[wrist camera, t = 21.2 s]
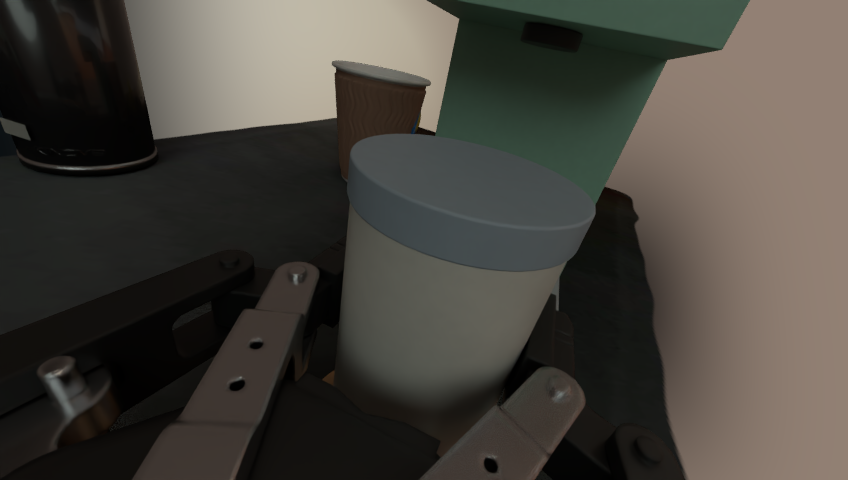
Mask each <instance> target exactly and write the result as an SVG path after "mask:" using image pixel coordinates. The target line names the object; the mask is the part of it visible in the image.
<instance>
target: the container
mask: <svg viewBox="0 0 848 480" xmlns="http://www.w3.org/2000/svg"><path fill="white" fill-rule="evenodd" d="M347 195H348V198H349V200H350V207H349V218H348V229H347V240H346V251H345V262H344V273H343V284H342V295H341V306H340V317H339V328H338V339H337V350H336V361H335V372H334V383H333V386H335V387H337V388H338V389H339V390H340V391H341V392H342V393H343V394H344V395H345V396H346V397H347V398H348V399H350V400H351V401H352V402H353V403H354V404H355V405H356V406H357V407H358V408H359V409H360V410H361V411H363V412H364V413H366V414H370V415H374V416H379V417H383V418H387V419H392V420H396V421H401V422H405V423H407V424H409V425H411V426H413V427H415V428H417V429H419V430H420V431H422V432H424V433H426V434H428V435H430V436H432V437H434V438H436V439H438V440H440V441H441V442H440V445H439V447H438V450H437V454H438V455H439V456H440V457H442V456H443V455H444V454H445V453H446V452H447V451H448V450H449V449H450V448H451V447H452V446H453V445H454V444H455V443H456V442H457V441H458V440H459V439H461V438H462V437H463V436H464V435H465V434H466V433H467V432H468V431H469V430H470V429H471V428H472V427H473V426H474V425H475V424H476V423H477V422H478V421H479V420H480V419H481V418H482V417H483V416H484V415H485V414H486V413H487V412H488V411H489V410H490V409H491V408H492V407H493V406H495V405H496V403H497V401H498V399H499V397H500V395H501V393H502V391H503V389H504V387H505V385H506V383H507V381H508V379H509V377H510V375H511V373H512V371H513V369H514V367H515V365H516V363H517V361H518V359H519V357H520V355H521V353H522V351H523V349H524V347H525V344H526V342H527V340H528V338H529V336H530V334H531V332H532V330H533V328H534V326H535V324H536V322H537V320H538V318H539V316H540V314H541V312H542V310H543V308H544V306H545V304H546V302H547V300H548V298H549V296H550V294H551V292H552V290H553V288H554V286H555V284H556V282H557V280H558V278H559V276H560V274H561V272H562V270H563V268H564V266H565V264H566V262H567V261H568V260H569V259H571V258H572V257H573V256H574V255H575V254H576V252H577V250H578V248H579V246H580V244H581V242H582V240H583V238H584V236H585V234H586V232H587V230H588V228H589V226H590V224H591V222H592V220H593V218H594V216H595V205H594V203H593V201H592V199H591V198H590V197H589V195H588V194H586V193H585V192H584V191H583V190H582V189H581V188H580V187H578V186H577V185H576V184H574V183H573V182H571V181H570V180H568V179H567V178H565V177H563V176H561V175H560V174H558V173H556V172H554V171H552V170H550V169H548V168H546V167H544V166H541V165H539V164H537V163H534V162H532V161H529V160H527V159H524V158H522V157H519V156H516V155H513V154H510V153H507V152H504V151H501V150H497V149H494V148H490V147H487V146H483V145H479V144H475V143H471V142H466V141H461V140H456V139H450V138H444V137H438V136H429V135H419V134H385V135H377V136H372V137H368V138H365V139H362V140H360V141H359V142H357V143H356V144H355V145H354V146H353V147H352V149H351V152H350V158H349V170H348V182H347Z"/></svg>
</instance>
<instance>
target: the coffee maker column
mask: <svg viewBox="0 0 848 480" xmlns="http://www.w3.org/2000/svg"><path fill="white" fill-rule="evenodd" d="M522 32H523V31H518V30H513V29H508V28H503V27H498V26H493V25H488V24H483V23H477V22H472V21H467V20H462V19H459V23H458V28H457V33H456V38H455V43H454V48H453V52H452V58H451V62H450V67H449V72H448V77H447V82H446V87H445V92H444V96H443V101H442V106H441V110H440V116H439V120H438V125H437V130H436V135H435V136H438V137H444V138H450V139H456V140H461V141H466V142H471V143H475V144H479V145H483V146H487V147H490V148H494V149H497V150H501V151H504V152H507V153H510V154H513V155H516V156H519V157H522V158H524V159H527V160H529V161H532V162H534V163H537V164H539V165H541V166H544V167H546V168H548V169H550V170H552V171H554V172H556V173H558V174H560V175H561V176H563V177H565V178H567V179H568V180H570V181H571V182H573V183H574V184H576V185H577V186H578V187H580V188H581V189H582V190H583V191H584V192H585V193H586V194H588V195H589V197H590V198H591V199H592V201H593V203H594V205H595V204H596V202H597V200H598V198H599V196H600V194H601V192H602V190H603V188H604V186H605V184H606V182H607V180H608V178H609V176H610V174H611V172H612V170H613V168H614V166H615V164H616V162H617V160H618V158H619V156H620V154H621V152H622V150H623V148H624V146H625V144H626V142H627V140H628V138H629V136H630V134H631V132H632V130H633V128H634V126H635V124H636V122H637V120H638V118H639V116H640V114H641V112H642V110H643V108H644V106H645V104H646V102H647V100H648V98H649V96H650V94H651V92H652V90H653V88H654V86H655V84H656V81H657V80H658V77H659V76H660V73H661V71H662V70H663V68H664V66H665V64H666V62H667V60H664V59H659V58H654V57H649V56H644V55H639V54H634V53H629V52H624V51H619V50H613V49H608V48H603V47H598V46H593V45H588V44H583V43H580V46H579V49H578V51H577V52H575V53H571V52H564V51H558V50H552V49H548V48H543V47H539V46H535V45H531V44H527V43H524V42H522V41H521V40H520V39H521V35H522ZM566 263H567V262H566ZM565 265H566V264H565ZM564 267H565V266H564ZM563 269H564V268H563ZM562 271H563V270H562ZM561 273H562V272H561ZM560 275H561V274H560ZM559 277H560V276H559Z"/></svg>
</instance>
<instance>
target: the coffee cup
mask: <svg viewBox="0 0 848 480" xmlns="http://www.w3.org/2000/svg"><path fill="white" fill-rule="evenodd" d="M332 65H333V66H334V67H336V73H335V88H336V107H337V126H338V144H339V163H340V168H341V175H342V178H343V179H344V180H345V181H346V182H348V170H349V158H350V152H351V149H352V147H353V146H354V145H355V144H356V143H357V142H359V141H360V140H362V139H365V138H368V137H372V136H377V135H385V134H414V133H415V130H416V126H417V122H418V119H419V115H420V112H421V107H422V104H423V101H424V97H425V94H426V91H425V89H426V86H430V84H431V82H430V81H429V80H427V79H425V78H422V77H419V76H416V75H412V74H408V73H405V72H401V71H396V70H392V69H387V68H383V67H378V66H372V65H368V64H362V63H355V62H348V61H333V62H332Z"/></svg>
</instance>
